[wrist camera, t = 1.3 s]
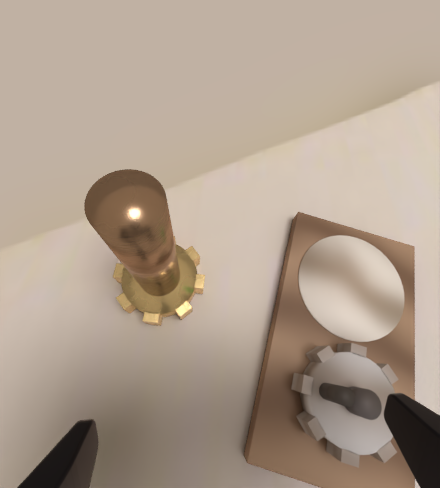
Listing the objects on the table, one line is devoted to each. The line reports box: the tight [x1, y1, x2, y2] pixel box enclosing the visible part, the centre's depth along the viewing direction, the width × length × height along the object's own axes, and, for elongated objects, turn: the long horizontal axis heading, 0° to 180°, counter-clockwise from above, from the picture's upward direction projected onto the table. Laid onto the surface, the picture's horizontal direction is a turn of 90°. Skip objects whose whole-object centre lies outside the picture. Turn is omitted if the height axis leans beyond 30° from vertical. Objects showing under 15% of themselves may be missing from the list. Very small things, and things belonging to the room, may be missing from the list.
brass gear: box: [85, 169, 205, 326], centre depth 17 cm, size 7×7×13 cm
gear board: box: [244, 212, 415, 488], centre depth 19 cm, size 20×11×6 cm, turn 162°
